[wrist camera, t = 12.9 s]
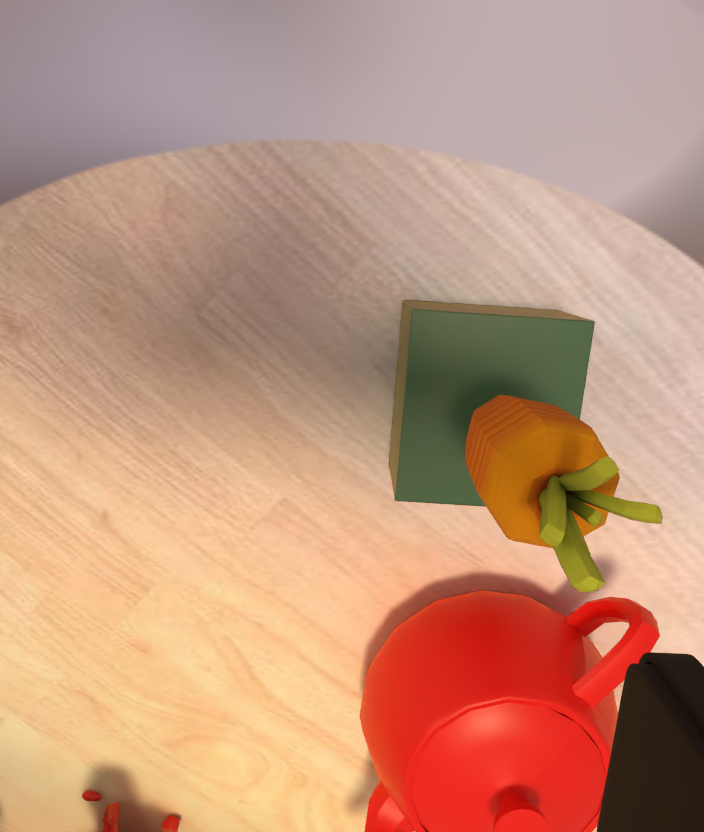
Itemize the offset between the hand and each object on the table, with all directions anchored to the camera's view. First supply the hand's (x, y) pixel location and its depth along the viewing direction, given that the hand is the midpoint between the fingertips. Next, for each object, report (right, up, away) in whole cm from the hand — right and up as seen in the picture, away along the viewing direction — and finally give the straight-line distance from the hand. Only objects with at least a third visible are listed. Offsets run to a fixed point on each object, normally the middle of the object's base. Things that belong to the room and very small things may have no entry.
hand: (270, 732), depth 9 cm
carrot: (+8, +4, +25) cm, 27 cm away
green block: (+8, +6, +31) cm, 32 cm away
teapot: (+9, -14, +36) cm, 39 cm away
